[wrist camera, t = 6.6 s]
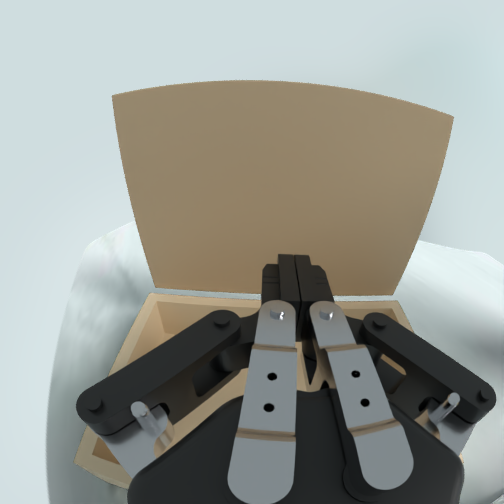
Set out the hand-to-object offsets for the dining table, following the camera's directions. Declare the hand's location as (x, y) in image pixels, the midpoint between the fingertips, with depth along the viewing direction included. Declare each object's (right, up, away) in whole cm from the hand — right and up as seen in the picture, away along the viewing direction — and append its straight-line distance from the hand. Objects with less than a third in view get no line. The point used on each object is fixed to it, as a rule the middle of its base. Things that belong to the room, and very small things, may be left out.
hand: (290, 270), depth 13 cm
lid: (0, +4, +4) cm, 5 cm away
